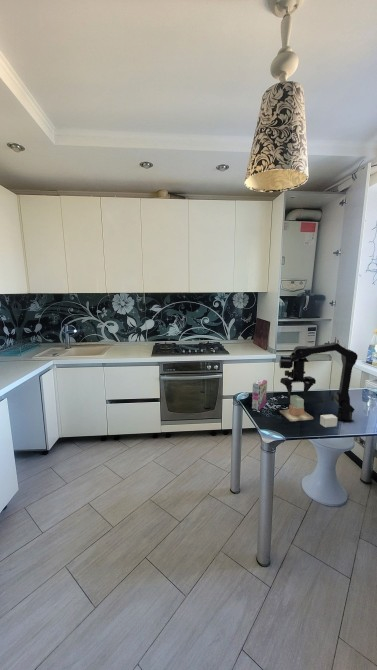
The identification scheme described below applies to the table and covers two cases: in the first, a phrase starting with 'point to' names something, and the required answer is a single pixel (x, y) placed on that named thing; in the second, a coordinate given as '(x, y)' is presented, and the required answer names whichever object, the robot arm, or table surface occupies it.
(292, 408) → the terracotta brick
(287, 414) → the birch board
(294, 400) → the sage brick
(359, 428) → the table surface
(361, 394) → the table surface
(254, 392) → the candy bar box
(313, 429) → the table surface
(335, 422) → the cream brick
